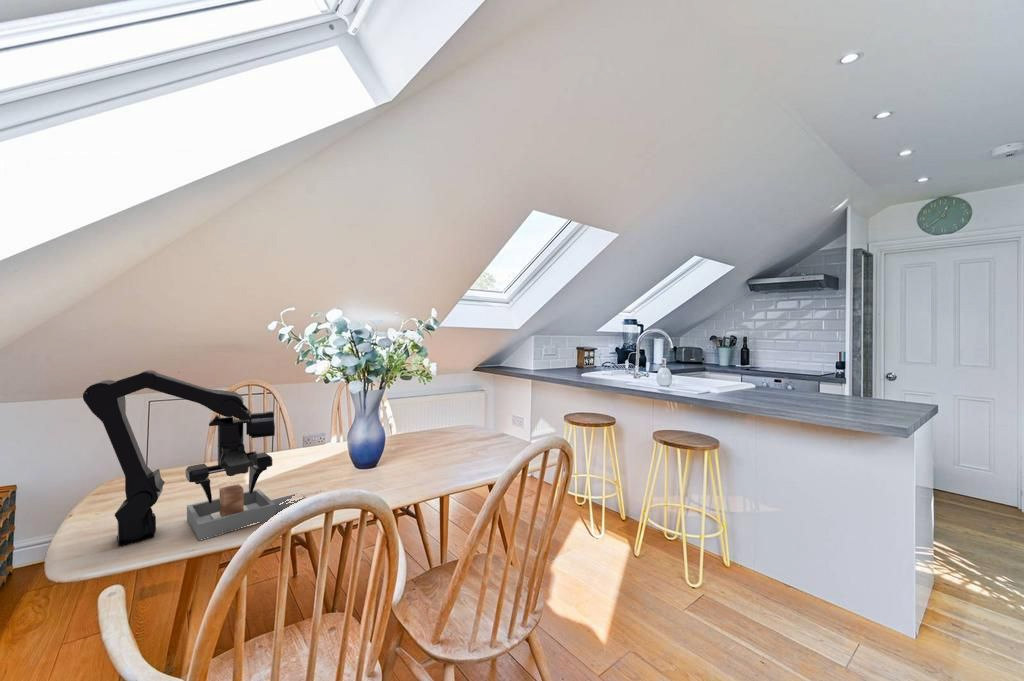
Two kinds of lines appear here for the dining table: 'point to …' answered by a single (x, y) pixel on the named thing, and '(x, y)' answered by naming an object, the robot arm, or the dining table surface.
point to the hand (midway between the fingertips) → (231, 498)
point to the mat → (284, 505)
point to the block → (231, 500)
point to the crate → (211, 523)
